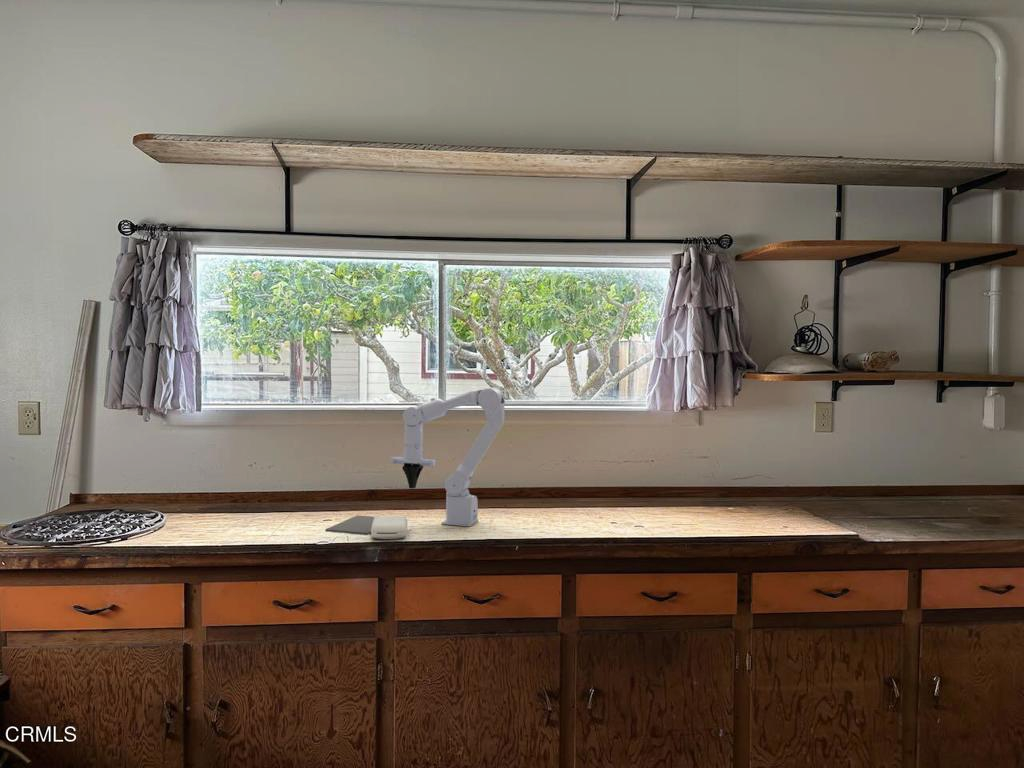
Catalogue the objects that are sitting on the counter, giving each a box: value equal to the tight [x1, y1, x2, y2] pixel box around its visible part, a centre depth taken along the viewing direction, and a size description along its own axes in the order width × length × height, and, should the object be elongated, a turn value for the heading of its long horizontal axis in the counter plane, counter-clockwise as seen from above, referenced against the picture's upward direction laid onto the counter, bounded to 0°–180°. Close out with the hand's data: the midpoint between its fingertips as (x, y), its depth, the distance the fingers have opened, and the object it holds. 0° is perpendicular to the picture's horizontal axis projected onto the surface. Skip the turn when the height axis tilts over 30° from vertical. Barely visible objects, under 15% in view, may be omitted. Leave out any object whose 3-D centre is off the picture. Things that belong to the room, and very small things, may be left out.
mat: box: [325, 514, 375, 536], centre depth 193 cm, size 14×18×1 cm
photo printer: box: [370, 515, 408, 540], centre depth 182 cm, size 10×4×12 cm
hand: (412, 487), depth 199 cm, fingers closed
